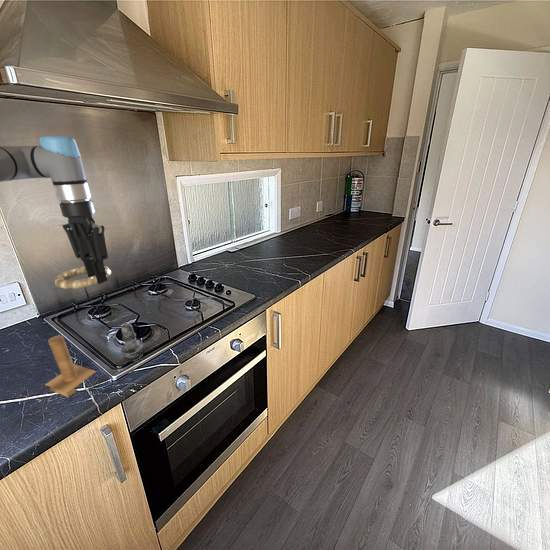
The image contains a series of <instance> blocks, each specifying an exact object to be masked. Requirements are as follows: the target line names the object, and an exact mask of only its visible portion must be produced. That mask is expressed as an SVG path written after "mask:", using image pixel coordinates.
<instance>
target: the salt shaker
mask: <svg viewBox="0 0 550 550" xmlns="http://www.w3.org/2000/svg"><path fill="white" fill-rule="evenodd" d="M120 331H121V334H122V337H121V339H122V340H123V342H124V344H123V346H122V347H121V349H120V353H121V354H122V355H123V356H124V358H128V359H131V360H130V361H129V362H131V361H136V360H138V359H140V358H141V357H142V356H143V353H144V352H143V350H144V343H143V342H142V341H138V340H137V337H136V336H137V333H135V331H134V328H133V325H132V324H131V323H128V322H127V321H124V323H123V325H121V328H120ZM142 352H143V353H142Z"/></svg>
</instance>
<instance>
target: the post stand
mask: <svg viewBox="0 0 550 550" xmlns="http://www.w3.org/2000/svg"><path fill="white" fill-rule="evenodd" d="M47 342H48V345H49V347H50V350H51V352H52V354H53V357H54V359H55V362H56V364H57V367H58V369H59V372H60V374H58V375H57V376H55V377H53V378H52V379H51V380H49V381H48V382H46V383H45V384H44V386H46V387H49V388H48V391H50V392H53V393H54V394H55V393H56V394H58V395H60V396H63V397H66V398H69V397H72V395H73V394H75V393H76V392H77V391H78V389H76V388H77V387H78V386H80V385H81V384H82V383H83V382H85V381H86V380H87V379H89V378H91V376H94V374H96V373H97V371H96V370H93V369H90V368H88V367H84V366H81V365H78V364H74V361H73V359H72V357H71V354H70V351H69V348H68V346H67V343H66V340H65V338H64V335H61V334H58V335H54V336H52V337H50V338H49V339H48V340H47Z"/></svg>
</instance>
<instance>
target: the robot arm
mask: <svg viewBox="0 0 550 550" xmlns="http://www.w3.org/2000/svg"><path fill="white" fill-rule="evenodd" d="M86 177H87V176H86V172H85V169H84V164H83V161H82V155H81V153H80V150H79V147H78V144H77V141H76V139H74V138H73V137H71V136H66V135H46V136H40V137H39V145H0V183H1V182H2V183H3V182H9V181H19V180H26V179H51V182H52V185H53V190H54V192H55V196H56V199H57V201H59V202H60V203H59V208H60V211H61V213H62V214H61V216H62V217H64V218H67V223H65V224H62V228H63V230H64V232H65V233H66V235H67V238H68V240H69V243H70V246H71V248H72V251H73V253H74V256H75V258H76V259H80V260H81V262H82V263H83V265H84V266H85V269H86V271H87V278H89V277H92V276H96V279H97V284H98V285H101V284H103V283H105V282H108V278H107V277H106V273H105V267H104V266H105V263H104V260H107V259H109V255H108V249H107V243H106V238H105V226H104V225H103V224H102V225H99V224H98V223H96V220H95V218H94V214H95V213H96V210H95V205H94V202H93V200H91V198H92V196H91V191H90V187H89V185H88V179H87V178H86Z"/></svg>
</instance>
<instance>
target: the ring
mask: <svg viewBox="0 0 550 550" xmlns="http://www.w3.org/2000/svg"><path fill="white" fill-rule="evenodd" d="M104 267H105V273H106V277H107V279H108V278H109V277H110V276H111V275H112V270H111V269H110V268H109V267H108V266H107V265H104ZM86 274H87V271H86V269H85V266H79V267H74V268H72V269H69V270H66V271H63V272H61V273H60V274H59V275H57V276H56V277H55V278H54V279H53V280H54V284H55V286H56V287H57V288H58V289H64V290H75V289H84V288H87V287H91V286H94V285H97V284H98V283H97V279H96V276H92V277H86V278H85V277H84V278H81V279H73V280H69V279H72V278H75V277H78V276H83V275H86ZM87 275H88V274H87Z"/></svg>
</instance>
